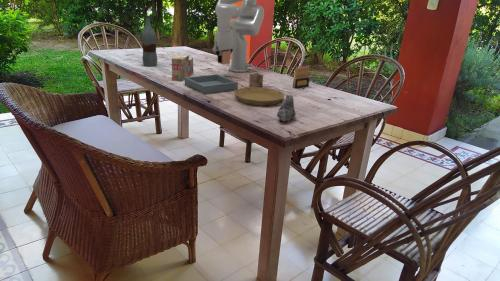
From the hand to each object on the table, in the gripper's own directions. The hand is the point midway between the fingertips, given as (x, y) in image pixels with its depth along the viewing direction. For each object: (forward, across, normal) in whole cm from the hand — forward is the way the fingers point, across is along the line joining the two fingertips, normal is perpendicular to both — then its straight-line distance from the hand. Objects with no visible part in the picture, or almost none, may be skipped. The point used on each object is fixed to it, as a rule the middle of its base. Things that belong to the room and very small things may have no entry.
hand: (223, 61), depth 213 cm
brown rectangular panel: (+10, -26, +38) cm, 47 cm away
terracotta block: (+1, 0, 0) cm, 1 cm away
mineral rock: (+7, +18, +72) cm, 75 cm away
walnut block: (+9, -3, +27) cm, 28 cm away
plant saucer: (+8, +10, +46) cm, 48 cm away
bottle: (+10, +25, -46) cm, 54 cm away
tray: (+8, +19, +17) cm, 27 cm away
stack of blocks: (+9, +20, -11) cm, 25 cm away
